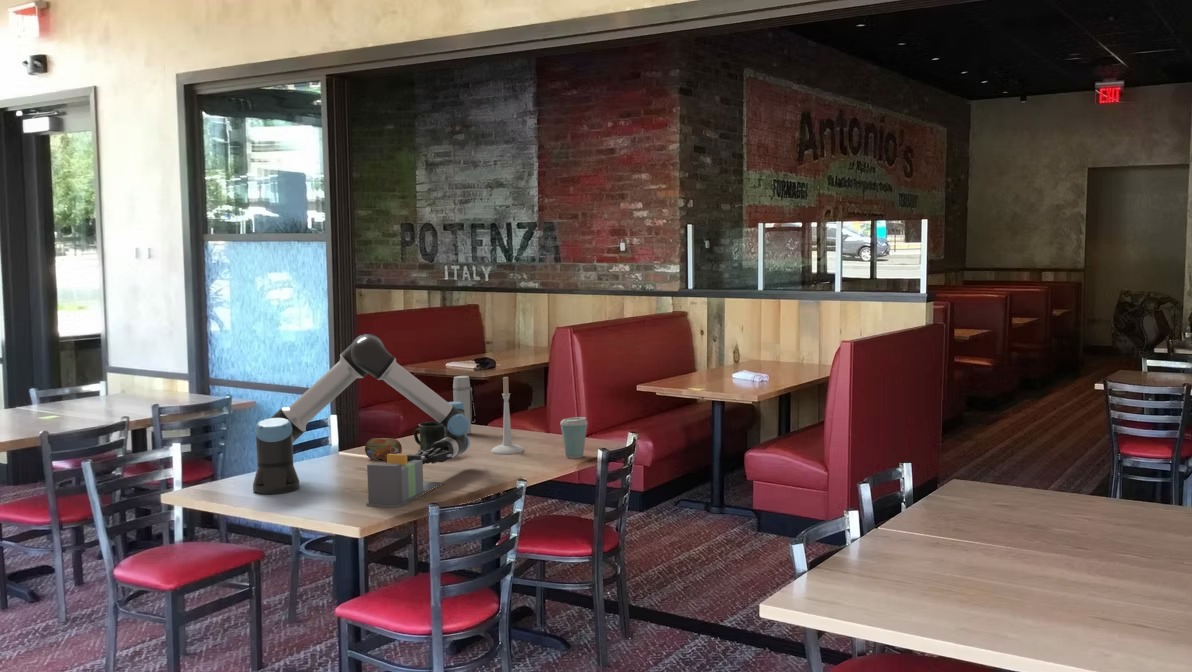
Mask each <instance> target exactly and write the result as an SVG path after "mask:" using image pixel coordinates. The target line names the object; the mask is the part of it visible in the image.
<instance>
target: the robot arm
mask: <svg viewBox="0 0 1192 672" xmlns="http://www.w3.org/2000/svg"><path fill="white" fill-rule="evenodd" d="M368 374H369V375H370V376H372V377H373V378H375V379H376V380H377V381H381V380H382V381H384V382H385V383H386V384H387V385H388V386H390V387H392V388H393V389H394V390H395V391H397V392H398V393H399V394H401V395H402V396H404V397H405V398H406V399H407V400H409V402H411V403H413V405H415V406H416V407H418V408H419V409H420V410H422V411H423V412H424V413H425V414H427V415H428V416H430V417H431V418H432V419H433V420H435V422H439V423H440V424H441V425H443V426H444V428H445V438H444V439H442V440H440V441H437V442H435V443H434V444H433V445H432V446H431V448H430V449H429V450H426V452H423V450H420V449H418V450H417V453H415V454H414V455H421V456H422V462H423V465H427V464H433V465H434V464H437V463H444V462H447V461H448V462H449V461H450V460H451V459H453V458H455V457H457V456H459V455H461V454H464V453H465V452H466V451H468V449H469V448H470V444H471V441H470V438H469V436H468V434H467V435H466V434H465V433H466V432H467V431H468V429H469V420H468V418H467V417H466V416H465V409H464V403H462V402H454V401H447V400H446V399H445V398H443V397H442V396H440V395H439V394H438V393H437V392H435V391H434V390H432V389H431V388H430V387H428V386H427V385H426V384H425V383H424V382H422V381H421V380H420V379H418V378H417V377H416V376H415V375H413V374H412V373H411V372H410V371H408V370H407V369H405V367H403V366H402V365H400V364H399V363H398V362H397V358H396V357H395V356H393V355H392V354H391V353H390V352H389V351H388V350H387V349H386V348H385V345H384V342H383V341H382V339H380V338H379V337H378V336H376V335H375V334H370V333H365V334H361V335H359V336H357V337H356V338H355V339H354V340H353V341H352V342H351V344H350V345H349V346H348V347H347V348H345V349H344V350H343V351H342V352H341V353H340V354H339V361H338V362H337V363H335V364H334V365H333V366H332V367H331V368H329V370H328V371H327V372H326V373H325V374H323V375H322V376H321V377H320V378H319V379H318V380H317V381H316V382H315V383H313V384H312V385H311V386H310V387H309V388H308V389H307V390H306V391H305V392H304V393H302V394H301V395H300V397H298V398H297V399H296V400H294V401H293V403H292V404H290V406H288V407H287V406H286V407H285V406H284V407H280V409H279V410H278V411H276V412H275V413H274V414H273V415H272V416H271V417H268V418H265V419H263V420H262V419H261V420H260V421H258V422H257V423H256V425H255V430H254V431H255V432H254V433H255V440H256V441H255V443H256V461H257V469H256V472H255V476H254V479H253V482H252V490H253V491H255V492H258V493H257V494H259V493H262V495H275V494H276V495H277V493H278V494H285V493H290V492H293V491H297V490H299V489H300V487H301V485H300V484H301V483H300V479H299V476H298V474H297V471H296V469H295V465H294V451H293V450H294V449H293V443H294V442H295V441H296V440H298V439H299V438H300V437H301V436H302V435H304V433H305V432H306V431H307V429H306V428H307V424H308V423H310V421H312V420H313V419H314V418H315V417H317V415H318V414H320V412H321V411H323V410H324V409H325V408H326V407H327V406H328V405H329V404H331V402H333V401H334V399H335V400H336V398H337V397H338V396H339V395H340V394H341V393H342V392H343V391H344V390H345V389H347V388H348V387H349V386H350V385H351V384H352V383H353V382H354V381H355V380H356V379H364V378H365V377H366V376H367V375H368ZM255 492H254V493H255Z"/></svg>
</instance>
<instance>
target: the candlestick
mask: <svg viewBox="0 0 1192 672" xmlns="http://www.w3.org/2000/svg"><path fill="white" fill-rule="evenodd" d="M502 381H503V382H502V383H503V384H502V385H503V390H502V391H503V393H501V395H502V399H503V423H502V425H503V426H502V428H503V429H502V430H503V431H502V444H499V445H495V446H494V447H493V448H491V450H490V452H491V453H492V454H495V455H515V454H517V455H518V454H521V453H523V452H524V450H525V449H524V448H523V447H522V446H520V445H518V444H515V443H513V438H512V428H511V427H512V426H511V425H512V424H511V415H510V414H511V412H510V402H509V400H510V395H511V393H509V377H508V376H504V377H502Z"/></svg>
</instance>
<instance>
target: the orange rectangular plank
mask: <svg viewBox="0 0 1192 672" xmlns="http://www.w3.org/2000/svg"><path fill="white" fill-rule="evenodd" d="M407 455H408V454H405V453H401V454H387V461H386V463H391V464H401V465H406V464H407Z"/></svg>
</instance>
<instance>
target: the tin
mask: <svg viewBox="0 0 1192 672" xmlns="http://www.w3.org/2000/svg"><path fill="white" fill-rule="evenodd" d="M364 451H365V454H366V456H367V457H368V458H369V459H370V460H372V459H383V460H382V461H385V460H387V454H397V453H400V454H403V453H402V452H403V448H402V443H401V442H400V441H399V440H398V439H396V438H386V437H385V438H383V437H381V438H377V437H376V438H374V437H373V438H370V439H369V440H367V442H366V443H365V446H364Z"/></svg>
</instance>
